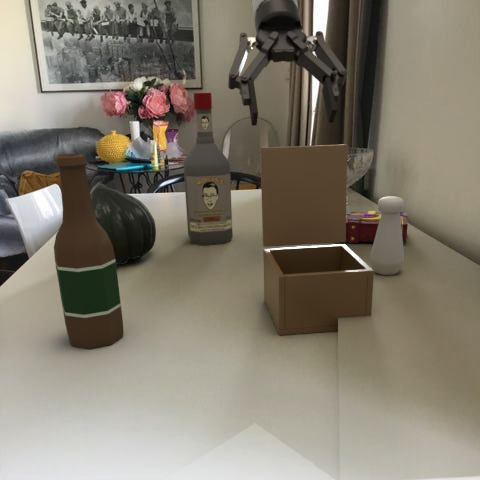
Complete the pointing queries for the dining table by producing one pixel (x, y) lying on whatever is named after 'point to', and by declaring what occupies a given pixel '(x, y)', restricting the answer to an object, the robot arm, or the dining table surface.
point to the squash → (124, 223)
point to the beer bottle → (85, 263)
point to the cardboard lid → (303, 194)
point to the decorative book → (368, 226)
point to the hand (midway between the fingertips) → (294, 117)
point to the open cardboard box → (315, 287)
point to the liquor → (207, 182)
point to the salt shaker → (388, 237)
